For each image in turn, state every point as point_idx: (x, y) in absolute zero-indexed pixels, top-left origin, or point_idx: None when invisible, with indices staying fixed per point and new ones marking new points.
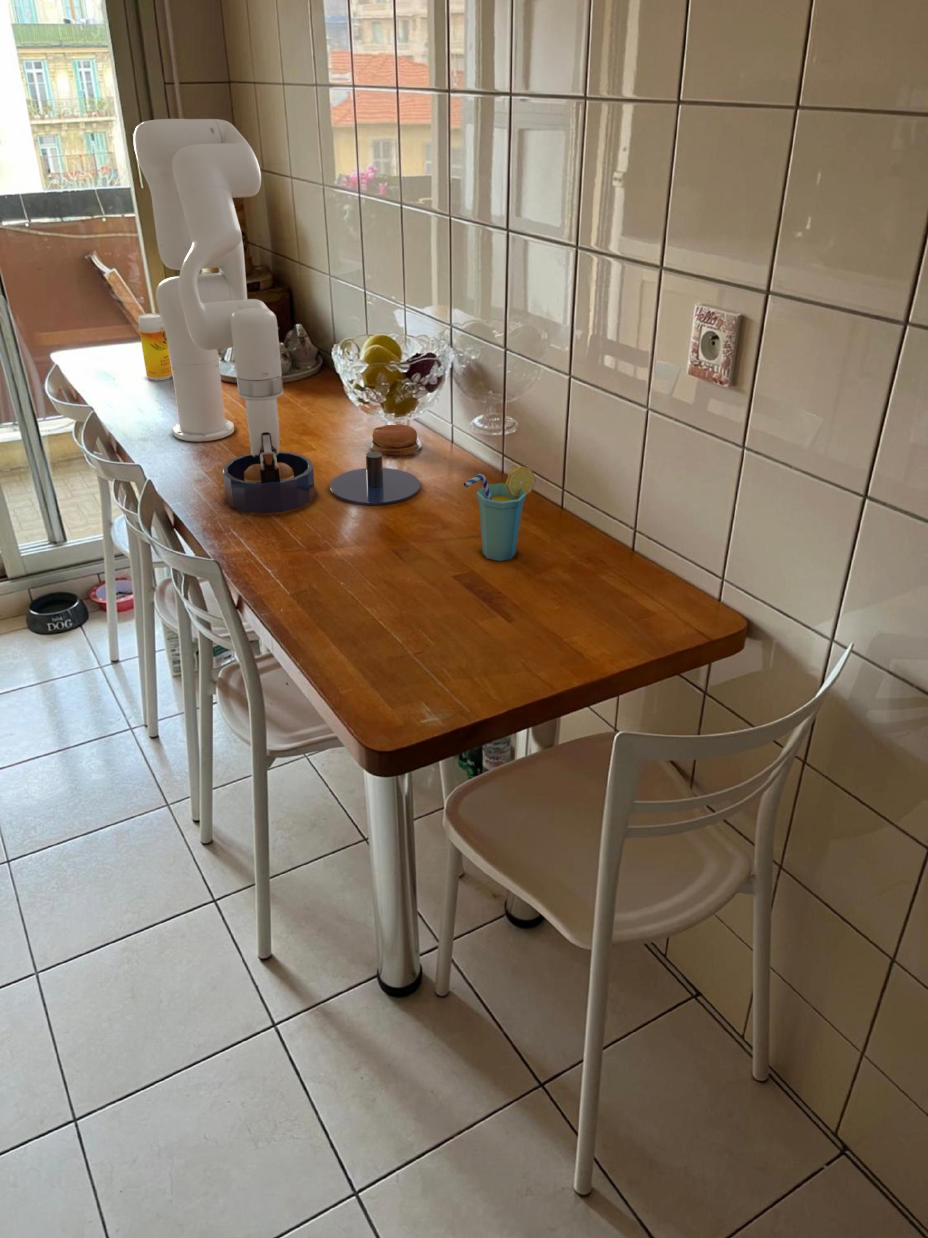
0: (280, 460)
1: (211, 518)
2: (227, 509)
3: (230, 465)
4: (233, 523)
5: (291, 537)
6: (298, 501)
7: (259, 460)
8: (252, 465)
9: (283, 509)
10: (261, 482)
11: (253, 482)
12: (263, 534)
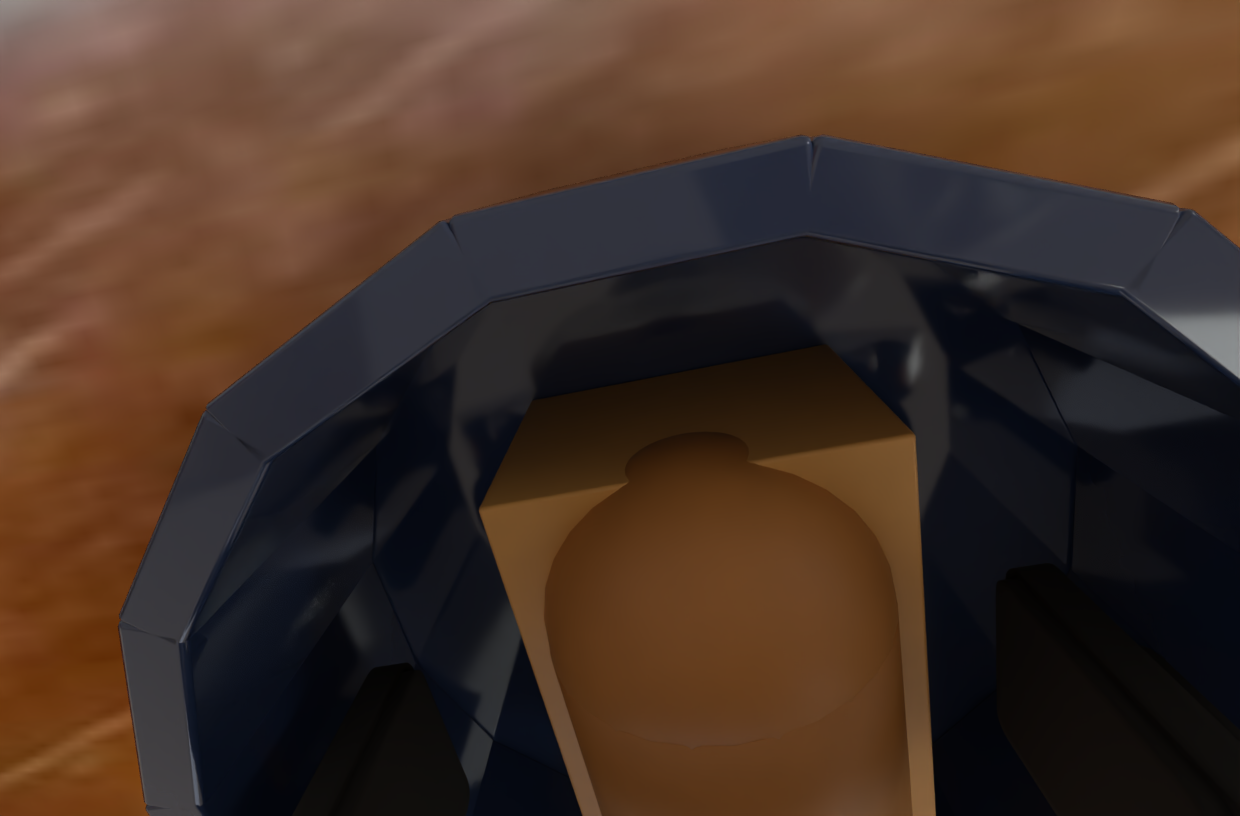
0: None
1: (210, 92)
2: (445, 214)
3: (940, 262)
4: (164, 331)
5: (76, 728)
6: None
7: (1092, 686)
8: (753, 681)
9: None
10: (328, 750)
11: (171, 726)
12: (54, 574)
